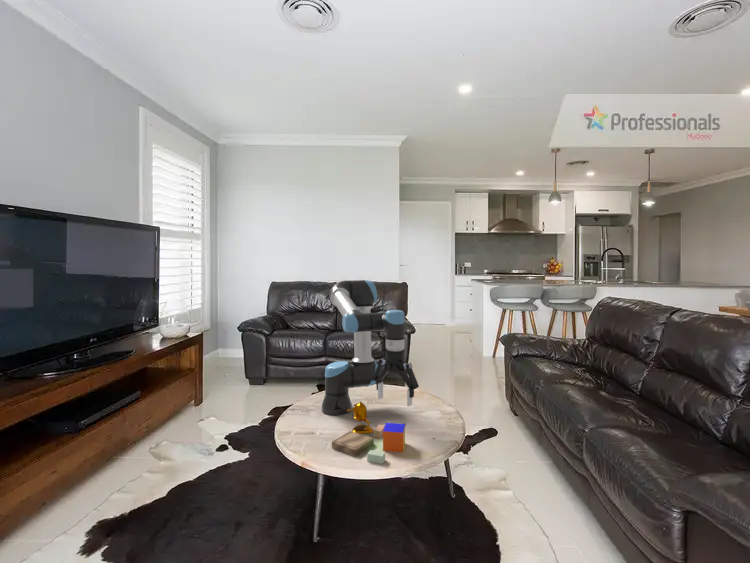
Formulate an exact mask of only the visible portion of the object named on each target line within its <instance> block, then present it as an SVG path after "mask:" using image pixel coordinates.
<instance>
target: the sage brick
mask: <svg viewBox="0 0 750 563" xmlns="http://www.w3.org/2000/svg"><path fill="white" fill-rule="evenodd" d="M366 455H367V456H366V459H367V460H366V461H367V462H371V463H375V462H376V463H375V464H380V463H383V464H384V462H385V461H384V460H386V453H385V451H377V450H373V449H370V450H369V451H368V452H367V453H366Z"/></svg>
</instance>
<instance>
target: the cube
mask: <svg viewBox="0 0 750 563" xmlns="http://www.w3.org/2000/svg"><path fill="white" fill-rule="evenodd" d="M384 426H385V427H384V430H383V435H382V452H391V453H392V452H395V453H404V451H405V445H406V423H397V422H396V423H395V422H394V423H393V422H385V425H384Z"/></svg>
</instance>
